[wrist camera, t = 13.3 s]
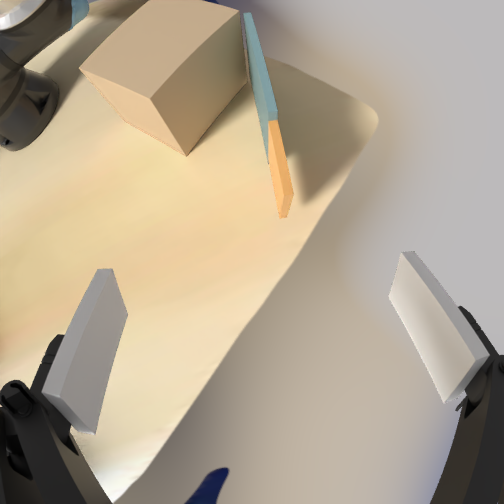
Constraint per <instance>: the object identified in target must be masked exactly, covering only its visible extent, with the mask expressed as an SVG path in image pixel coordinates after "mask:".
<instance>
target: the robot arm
mask: <svg viewBox="0 0 504 504" xmlns="http://www.w3.org/2000/svg"><path fill="white" fill-rule="evenodd" d="M88 12H89V4H88V1H87V0H0V145H1V146H2V147H4V148H6V149H8V150H10V151H18V150H20V149H23V148H24V147H26V146H28V145H29V144H30V143H31V142H32V141H34V140H35V139H36V138H37V137H38V135H39V134H40V133H41V132H42V131H43V129H44V128H45V127H46V125H47V124H48V122H49V120H50V119H51V117H52V115H53V113H54V111H55V108H56V105H57V102H58V97H59V90H58V86H57V84H56V83H55V82H54V81H53V80H52V79H51V78H50V77H48V76H46V75H43V74H40V73H37V72H34V71H31V70H28V69H26V68H24V67H23V66H24V65H26V64H27V63H28V62H29V61H30V60H31V59H32V58H34V57H35V56H36V55H37V54H39V53H40V52H41V51H42V50H44V49H45V48H46V47H47V46H49V45H50V44H51V43H53V42H54V41H55V40H57V39H58V38H59V37H61V36H62V35H63V34H65V33H66V32H68V31H70V30H71V29H72V28H73V27H74V26H75V25H76V24H77V23H79V22H80V21H81V20H83V19H84V18H85V17H86V16H87V14H88ZM389 299H390V301H391V303H392V304H393V306H394V308H395V310H396V312H397V313H398V315H399V317H400V319H401V321H402V322H403V324H404V326H405V328H406V330H407V332H408V333H409V335H410V337H411V339H412V341H413V343H414V344H415V347H416V348H417V350H418V352H419V354H420V356H421V358H422V360H423V362H424V364H425V366H426V368H427V370H428V372H429V374H430V376H431V378H432V380H433V382H434V384H435V386H436V389H437V391H438V392H439V395H440V397H441V399H442V401H443V403H447V402H449V401H452V400H455V399H457V398H458V397H459V396H460V394H461V393H462V392H463V391H464V390H465V392H466V394H467V396H466V397H465V398H464V399H463V401H462V402H461V403H460V404H459V405H458V406H457V408H456V411H458V410H459V409H460V408H461V407H462V410H461V414H460V418H459V422H458V426H457V430H456V433H455V436H454V440H453V443H452V446H451V449H450V453H449V456H448V459H447V462H446V464H445V467H444V470H443V473H442V475H441V478H440V481H439V483H438V486H437V488H436V491H435V493H434V495H433V498H432V500H431V502H430V504H497V502H498V504H504V355H499V354H498V353H497V351H496V350H495V348H494V347H493V345H492V344H491V342H490V341H489V340H488V338H487V336H486V335H485V334H484V332H483V331H482V330H481V327H480V326H479V325H478V323H476V320H475V319H474V318H473V316H472V315H471V313H470V312H468V311H467V310H466V309H465V308H463V307H462V306H459V307H457V306H456V304H455V303H454V301H453V300H452V299H451V297H450V296H449V295H448V293H447V292H446V291H445V289H444V288H443V287H442V285H440V283H439V282H438V280H437V279H436V278H435V276H434V275H433V274H432V273H431V271H430V270H429V269H428V268H427V266H426V265H425V264H424V263H423V261H422V260H421V259H420V258H419V257H418V255H417V254H416V253H415V252H414V251H411V252H401V254H400V258H399V262H398V266H397V269H396V273H395V277H394V280H393V284H392V287H391V290H390V294H389ZM127 316H128V313H127V310H126V307H125V304H124V302H123V299H122V296H121V293H120V290H119V287H118V284H117V281H116V278H115V275H114V272H113V269H98V270H97V272H96V273H95V275H94V277H93V279H92V281H91V283H90V285H89V287H88V289H87V290H86V292H85V294H84V296H83V298H82V300H81V302H80V304H79V306H78V308H77V310H76V312H75V314H74V317H73V319H72V321H71V323H70V325H69V327H68V329H67V331H66V334H65V335H60V334H58V335H57V336H56V337H55V338H54V339H53V340H52V341H51V342H50V344H49V346H48V348H47V350H46V352H45V356H44V357H43V359H42V364H40V366H39V368H38V371H37V373H36V376H35V378H34V381H33V383H32V386H31V388H30V390H29V388H28V387H27V386H26V385H25V384H24V383H23V382H22V381H20V380H13V381H10V382H8V383H7V384H5V385H4V386H3V388H2V389H1V391H0V405H1V406H2V407H0V504H112V502H111V501H110V499H109V498H108V496H107V495H106V493H105V492H104V490H103V489H102V487H101V486H100V484H99V482H98V481H97V479H96V477H95V476H94V474H93V472H92V471H91V469H90V467H89V466H88V464H87V462H86V460H85V458H84V457H83V455H82V453H81V451H80V449H79V447H78V445H77V443H76V442H75V440H74V438H73V436H72V434H71V433H70V428H71V425H72V426H73V427H74V428H75V429H76V430H77V431H78V432H82V433H88V434H94V435H95V434H96V429H97V425H98V420H99V416H100V412H101V407H102V403H103V399H104V395H105V391H106V387H107V384H108V380H109V376H110V373H111V369H112V365H113V362H114V358H115V355H116V351H117V348H118V345H119V341H120V338H121V335H122V332H123V329H124V325H125V322H126V319H127Z"/></svg>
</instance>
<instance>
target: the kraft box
mask: <svg viewBox="0 0 504 504" xmlns="http://www.w3.org/2000/svg"><path fill="white" fill-rule="evenodd" d="M79 69H80V70H81V71H82V73H83V74H84V75H85V76H86V77H87V78H88V80H89V81H90V82H91V83H92V84H93V85H94V87H95V88H96V89H97V90H98V91H99V92H100V94H101V95H102V96H103V97H104V98H105V99H106V101H107V102H108V103H109V104H110V105H111V106H112V107H113V109H114V110H115V111H116V112H117V113H118V114H119V116H120V117H121V118H122V119H123V120H124V121H125V122H126V123H128V124H130V125H132V126H134V127H135V128H137V129H139V130H141V131H143V132H144V133H146V134H148V135H150V136H152V137H153V138H155V139H157V140H159V141H160V142H162V143H164V144H166V145H167V146H169V147H171V148H173V149H174V150H176V151H178V152H179V153H181V154H183V155H185V156H187V155H188V154H189V152H190V151H191V150H192V149H193V147H194V146H195V145H196V143H197V142H198V141H199V139H200V138H201V137H202V136H203V134H204V133H205V132H206V131H207V129H208V128H209V127H210V126H211V124H212V123H213V122H214V121H215V119H216V118H217V117H218V116H219V114H220V113H221V112H222V111H223V110H224V108H225V107H226V106H227V105H228V104H229V102H230V101H231V100H232V99H233V98H234V97H235V95H236V94H237V93H238V92H239V91H240V90H241V89H242V87H243V86H244V85H245V84H246V83H247V74H246V65H245V56H244V47H243V38H242V30H241V21H240V13H239V11H238V10H235V9H232V8H229V7H225V6H222V5H218V4H214V3H210V2H206V1H202V0H149V1H148V2H147V3H145V4H144V5H143V6H142V7H140V8H139V9H138V10H137V11H136V12H135V13H133V14H132V15H131V16H130V17H129V18H128V19H127V20H125V21H124V22H123V23H122V24H121V25H120V26H119V27H118V28H117V29H116V30H115V31H114V32H112V33H111V34H110V35H109V36H108V37H107V38H106V39H105V40H104V41H103V42H102V43H101V44H100V45H99V46H98V47H97V48H96V49H95V50H94V52H93V53H92V54H91V55H90V56H89V57H88V58H87V59H86V60H85V61H84V62H83V63H82V65H81V66H80V67H79Z"/></svg>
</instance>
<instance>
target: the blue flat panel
mask: <svg viewBox="0 0 504 504" xmlns="http://www.w3.org/2000/svg"><path fill="white" fill-rule="evenodd" d="M244 22H245V33H246V43H247V53H248V63H249V74H250V79H251V84H252V88H253V93H254V97H255V102H256V107H257V111H258V116H259V121H260V126H261V130H262V135H263V140H264V145H265V150H266V155H267V160H268V164H269V165H270V170H271V176H272V181H273V186H274V191H275V196H276V202H277V207H278V213H279V218H286V217H287V215H288V212H289V208H290V205H291V202H292V198H293V195H294V193H293V188H292V184H291V179H290V174H289V169H288V165H287V160H286V155H285V151H284V146H283V142H282V138H281V133H280V129H279V125H278V120H277V118H278V110H277V106H276V102H275V98H274V94H273V90H272V86H271V82H270V78H269V75H268V71H267V67H266V63H265V60H264V56H263V52H262V49H261V46H260V42H259V38H258V35H257V31H256V28H255V24H254V21H253V18H252V15H251V13H244Z"/></svg>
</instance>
